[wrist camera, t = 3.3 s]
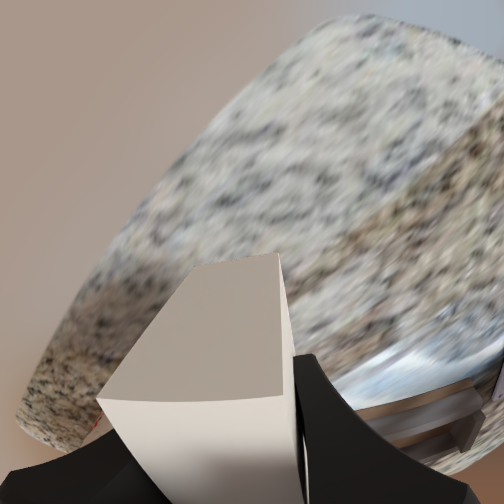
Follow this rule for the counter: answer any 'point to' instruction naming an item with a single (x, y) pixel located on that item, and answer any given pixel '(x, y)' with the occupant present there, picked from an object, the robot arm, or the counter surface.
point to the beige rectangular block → (216, 390)
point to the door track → (430, 421)
